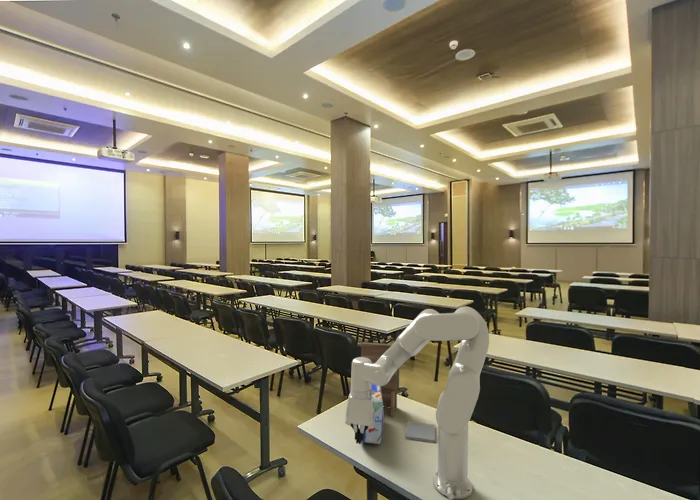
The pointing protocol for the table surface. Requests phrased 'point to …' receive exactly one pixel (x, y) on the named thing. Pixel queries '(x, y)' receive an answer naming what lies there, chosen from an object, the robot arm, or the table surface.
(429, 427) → the notebook
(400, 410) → the table surface
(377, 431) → the lunch box
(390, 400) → the display stand
